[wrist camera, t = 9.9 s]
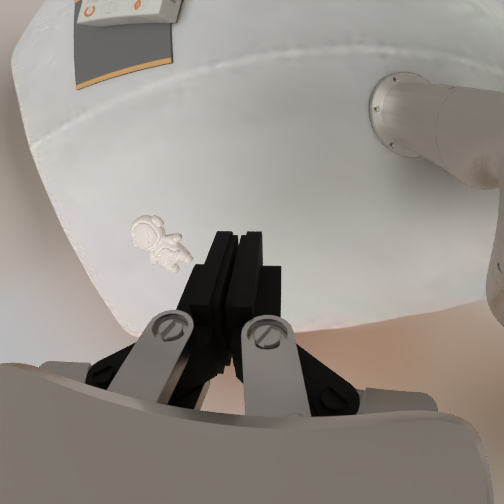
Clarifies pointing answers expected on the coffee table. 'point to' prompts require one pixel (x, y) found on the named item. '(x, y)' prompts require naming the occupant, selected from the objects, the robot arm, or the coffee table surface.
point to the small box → (127, 12)
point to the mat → (118, 49)
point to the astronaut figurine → (159, 243)
